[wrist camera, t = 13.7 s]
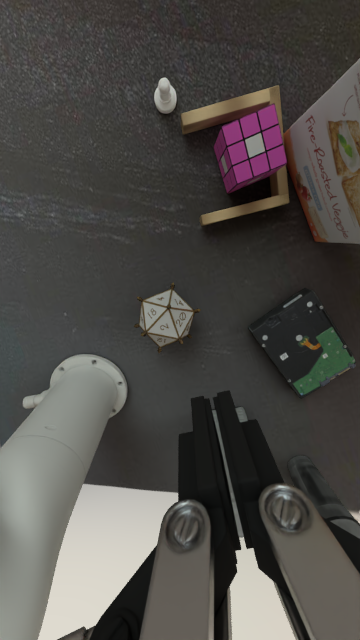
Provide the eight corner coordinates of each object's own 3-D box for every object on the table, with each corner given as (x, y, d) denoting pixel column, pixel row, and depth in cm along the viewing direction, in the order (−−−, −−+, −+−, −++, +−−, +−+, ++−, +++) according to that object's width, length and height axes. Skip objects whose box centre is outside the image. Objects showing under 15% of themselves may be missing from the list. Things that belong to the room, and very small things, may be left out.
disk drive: (245, 326, 38) (293, 390, 42) (250, 333, 35) (301, 400, 39) (303, 285, 36) (349, 356, 39) (313, 289, 33) (361, 364, 37)
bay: (201, 226, 33) (202, 225, 31) (180, 123, 30) (180, 113, 27) (281, 205, 32) (289, 203, 30) (270, 97, 29) (279, 84, 26)
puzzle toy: (269, 176, 31) (288, 163, 26) (227, 194, 32) (236, 184, 27) (257, 127, 30) (275, 102, 24) (213, 146, 30) (220, 126, 25)
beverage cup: (318, 447, 45) (417, 596, 27) (318, 475, 48) (410, 631, 29) (279, 453, 46) (349, 604, 27) (281, 480, 48) (348, 638, 29)
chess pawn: (150, 96, 29) (146, 78, 25) (168, 82, 28) (167, 61, 25) (162, 119, 29) (160, 103, 26) (180, 105, 29) (180, 87, 26)
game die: (165, 292, 40) (171, 259, 30) (202, 329, 39) (220, 306, 29) (123, 327, 37) (115, 303, 28) (161, 368, 36) (166, 357, 27)
